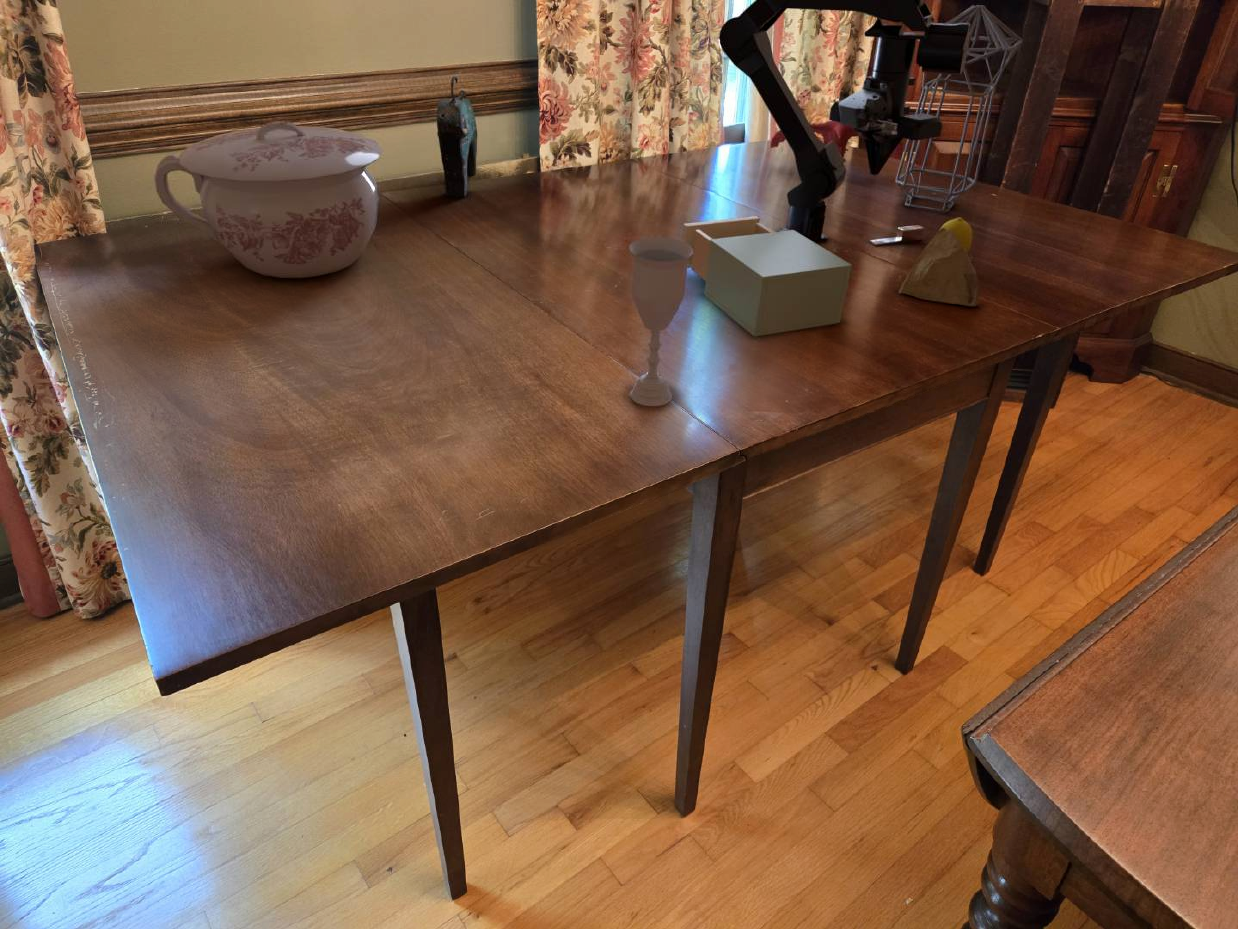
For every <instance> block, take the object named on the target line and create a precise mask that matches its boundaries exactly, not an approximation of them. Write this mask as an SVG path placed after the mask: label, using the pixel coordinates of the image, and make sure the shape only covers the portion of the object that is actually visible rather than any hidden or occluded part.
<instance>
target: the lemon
mask: <svg viewBox="0 0 1238 929" xmlns="http://www.w3.org/2000/svg"><path fill="white" fill-rule="evenodd" d="M941 228H945V229H947V230H949V231H952V232H953V233H954V234H955V235H956V237H957V239H958V241H959V242H960V244H961V245H962V247H963V249H964V250H965V251H966V253H967V254H968V253H969V251H970V250H971V246H972V242H973V229H972V226H971V225H970V224H969V223H968V222H967V221H966V220H964V219H963V217H961V216H957V217H956V218H953V219H950V220H948V221H946V222H945V223H944V224H943V225H942V226H941V227H940V229H941ZM940 229H939V230H938V232H939V231H940Z"/></svg>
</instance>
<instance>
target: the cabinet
mask: <svg viewBox="0 0 1238 929" xmlns="http://www.w3.org/2000/svg"><path fill="white" fill-rule="evenodd" d="M852 267H853V264H851V263H850V262H847V261H846V260H844V259H843V258H841V257H840V256H838V255H836V254H835V253H832V252H831V251H829V250H828V249H826V248H824V247H823V246H821V245H819V244H818V243H816V242H815V241H814V242H813V241H811V240H809V239H808V238H806V237H804V236H803V235H801V234H799V233H798V232H796V231H794V230H789V231H780V232H778V231H774V232H772V233H763V234H754V235H746V236H737V237H728V238H720V239H711V240H710V246H709V256H708V265H707V275H706V281H705V286H704V297H706V298H707V299H708V300H709V301H710V302H711V303H713V304H714V305H715V306H716V307H717V308H719V309H720V310H721V311H722V312H724V314H726V315H727V316H729V318H731V319H732V320H733V321H734V322H735V323H737V324H738V325H739V326H741V327H742V328H743V329H744V330H745V331H746V332H748V333H749V334H750V335H751V336H752V337H754V338H756V337H761V336H762V337H763V336H769V335H774V334H781V333H786V332H791V331H798V330H806V329H811V328H816V327H824V326H830V325H836V324H840V323H841V318H842V314H843V310H844V305H845V300H846V296H847V291H848V286H849V281H850V276H851V272H852Z"/></svg>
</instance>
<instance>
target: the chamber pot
mask: <svg viewBox="0 0 1238 929" xmlns="http://www.w3.org/2000/svg"><path fill="white" fill-rule="evenodd" d="M383 151H384V150H383V148H382V147H381V145H380V143H378V142H377V140H375V139H372V138H371V137H368V136H365V135H363V134H362V133H361V134H360V133H356V132H352V131H347V130H342V129H338V128H333V127H321V126H311V125H309V126H308V125H307V126H304V125H303V126H302V125H296V124H295V123H293V122H290V121H283V120H276V121H271V122H268V123H265V124H263V125H261V126H260V127H256V128H248V129H241V130H235V131H231V132H226V133H221V134H216V135H214V136H211V137H208V138H206V139H203V140H201V141H197V142H195V143H192V144H190V145H189V146H188V147H187V148H185V149H183V151H181V152H180V154H179V156H177V155H175V154H174V153H171V154H169V153H168V154H167V155H166V156H164V157H163V158H162V159H161V160H160V161H159V163H158V164H157V166H156V168H155V172H154V177H153V180H154V186H155V192H156V193H157V195H158V197H159V199H160V201H161V203H162V204H163V205H164V206H166V208H168V209H169V210H170V211H171V212H172V213H173V214H175V215H176V216H177V217H178V218H179V219H180V220H183V221H185V222H187V223H188V224H190V225H192V226H194V227H195V228H198V229H200V230H202V231H203V232H205V233H206V234H207V235H209V237H212V238H213V239H215V241H217V243H219V244H220V245H221V246H222V247H224V248H225V250H226V251H227V252H228V253H229V254H230V255H231V256H232V257H233V258H234V259H235V260H236V261H237V262H238V263H240V264H241V265H242V266H244V267H245V268H246V269H247V270H250V271H251V272H253V273H255V274H259V275H262V276H266V277H272V278H280V279H309V278H318V277H322V276H326V275H330V274H333V273H336V272H339V271H341V270H344V269H346V268H348V267H350V266H352V265H353V264H354V263H356V262H357V261H359V259H361V257H362V256H363V254H364V252H365V250H366V248H367V246H368V244H369V241H370V240H371V237H372V235H373V234H374V231H375V229H376V227H377V223H378V212H379V192H378V191H379V190H378V184H377V183H378V182H377V181H376V180H375V178H374V176H373V175H372V173H371V171H370V170H369V169H368V168H367V166H370V165H371V164H372V163H375V162H376V161H377V160H378V159H379V158H380V156H381V154H382V152H383ZM176 171H178V172H179V171H180V172H184V173H187V174H188V175H190V176H191V177H192V179H193V182H194V187H195V192H197V193H198V194H199V199H200V203H201V206H202V210H203V214H204V216H205V217H203V216H201V215H198V214H197V213H194V212H192V211H190V210H189V209H188V207H186V206H184V205H183V204H182V203H181V202H180V201H179V200H177V199H176V197H174V195H173V193H172V191H171V189H170V185H169V179H168V176H169V175H168V174H169V173H171V172H176Z"/></svg>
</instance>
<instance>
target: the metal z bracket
mask: <svg viewBox="0 0 1238 929" xmlns="http://www.w3.org/2000/svg"><path fill="white" fill-rule="evenodd" d="M924 230H925V227H924V226H922V225H919V224H916V225H907V226H899V227H897V230H896V234H895V236H894V237H893V236H892V237H886V238H877V239H870V240H869V243H870V244H872V245H873V246H875V247H877V246H885V245H894V244H901V243H906V242H914V241H921V240H922V238H923V234H924Z"/></svg>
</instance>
